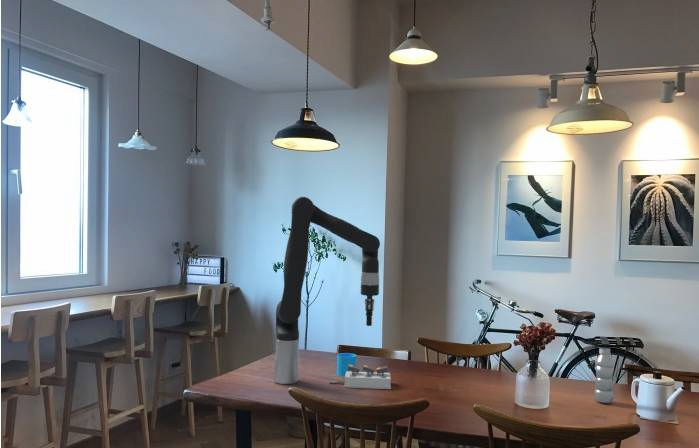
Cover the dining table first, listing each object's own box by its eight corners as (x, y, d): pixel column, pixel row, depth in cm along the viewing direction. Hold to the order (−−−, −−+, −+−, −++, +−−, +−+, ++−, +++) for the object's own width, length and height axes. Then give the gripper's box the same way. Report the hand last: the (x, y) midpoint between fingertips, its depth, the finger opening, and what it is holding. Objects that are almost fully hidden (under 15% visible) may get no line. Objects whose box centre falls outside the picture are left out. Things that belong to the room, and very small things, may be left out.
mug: (353, 377, 226) (353, 357, 226) (334, 375, 228) (335, 356, 228) (359, 370, 238) (360, 352, 238) (341, 369, 240) (342, 350, 240)
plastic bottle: (596, 398, 203) (597, 345, 204) (615, 402, 199) (616, 348, 199) (591, 402, 198) (592, 348, 199) (611, 406, 194) (612, 351, 194)
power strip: (328, 386, 211) (328, 374, 211) (330, 380, 220) (330, 368, 220) (390, 389, 210) (391, 376, 210) (390, 382, 219) (390, 370, 219)
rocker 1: (347, 370, 215) (348, 366, 215) (347, 368, 218) (349, 364, 218) (358, 373, 215) (359, 369, 215) (358, 371, 218) (359, 367, 218)
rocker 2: (362, 370, 215) (363, 366, 215) (362, 368, 218) (363, 364, 218) (373, 373, 214) (374, 369, 214) (373, 371, 217) (374, 367, 217)
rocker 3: (377, 374, 214) (376, 369, 214) (377, 372, 217) (376, 368, 217) (388, 371, 214) (387, 367, 214) (388, 369, 217) (387, 365, 217)
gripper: (361, 281, 227) (360, 322, 227) (360, 284, 214) (359, 328, 214) (378, 282, 227) (378, 323, 227) (379, 285, 214) (378, 328, 213)
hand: (369, 325), depth 220 cm, fingers closed
